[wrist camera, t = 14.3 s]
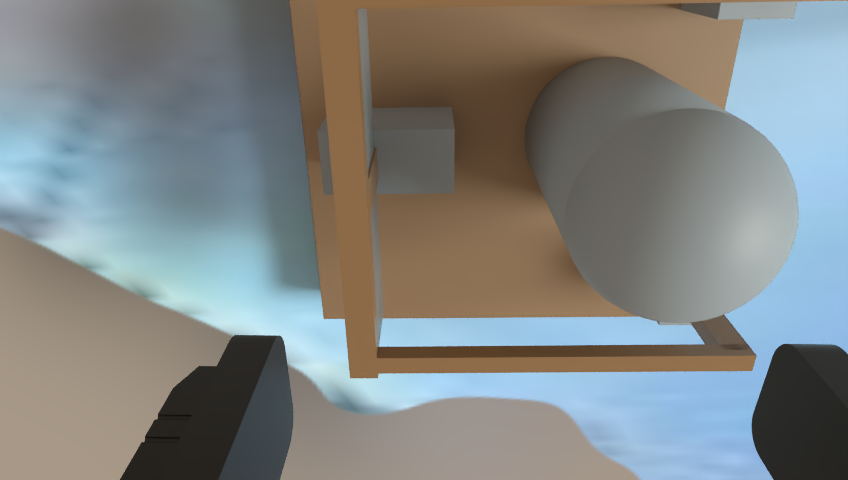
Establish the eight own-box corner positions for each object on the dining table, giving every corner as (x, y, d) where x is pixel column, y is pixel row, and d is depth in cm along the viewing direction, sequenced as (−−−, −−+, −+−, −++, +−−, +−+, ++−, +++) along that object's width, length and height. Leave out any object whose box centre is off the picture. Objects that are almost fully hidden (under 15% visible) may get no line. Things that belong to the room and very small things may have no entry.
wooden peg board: (291, -107, 28) (131, -167, 13) (739, -116, 28) (1107, -187, 13) (331, 292, 38) (265, 521, 23) (663, 289, 38) (819, 520, 22)
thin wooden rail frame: (336, -32, 23) (313, -27, 19) (782, -40, 23) (868, -36, 18) (362, 313, 30) (350, 378, 26) (702, 311, 30) (750, 375, 25)
